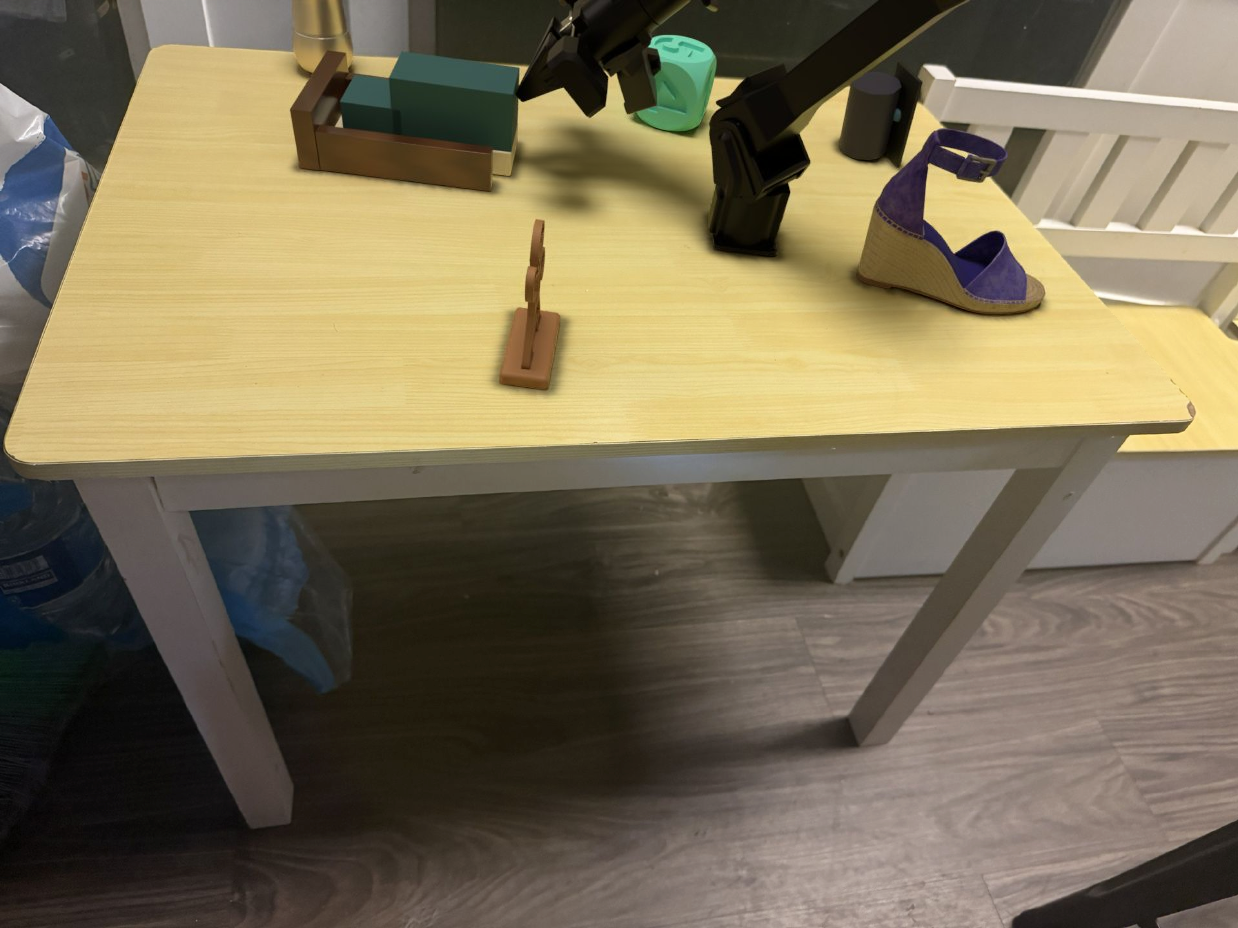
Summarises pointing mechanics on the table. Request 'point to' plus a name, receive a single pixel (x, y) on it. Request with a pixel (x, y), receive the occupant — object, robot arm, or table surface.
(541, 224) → the gingerbread man figurine
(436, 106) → the teal stepped block
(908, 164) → the sandal
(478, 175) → the wooden bed frame
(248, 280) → the table surface
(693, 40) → the decorative dice
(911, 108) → the speaker
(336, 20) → the gold rounded cylinder
